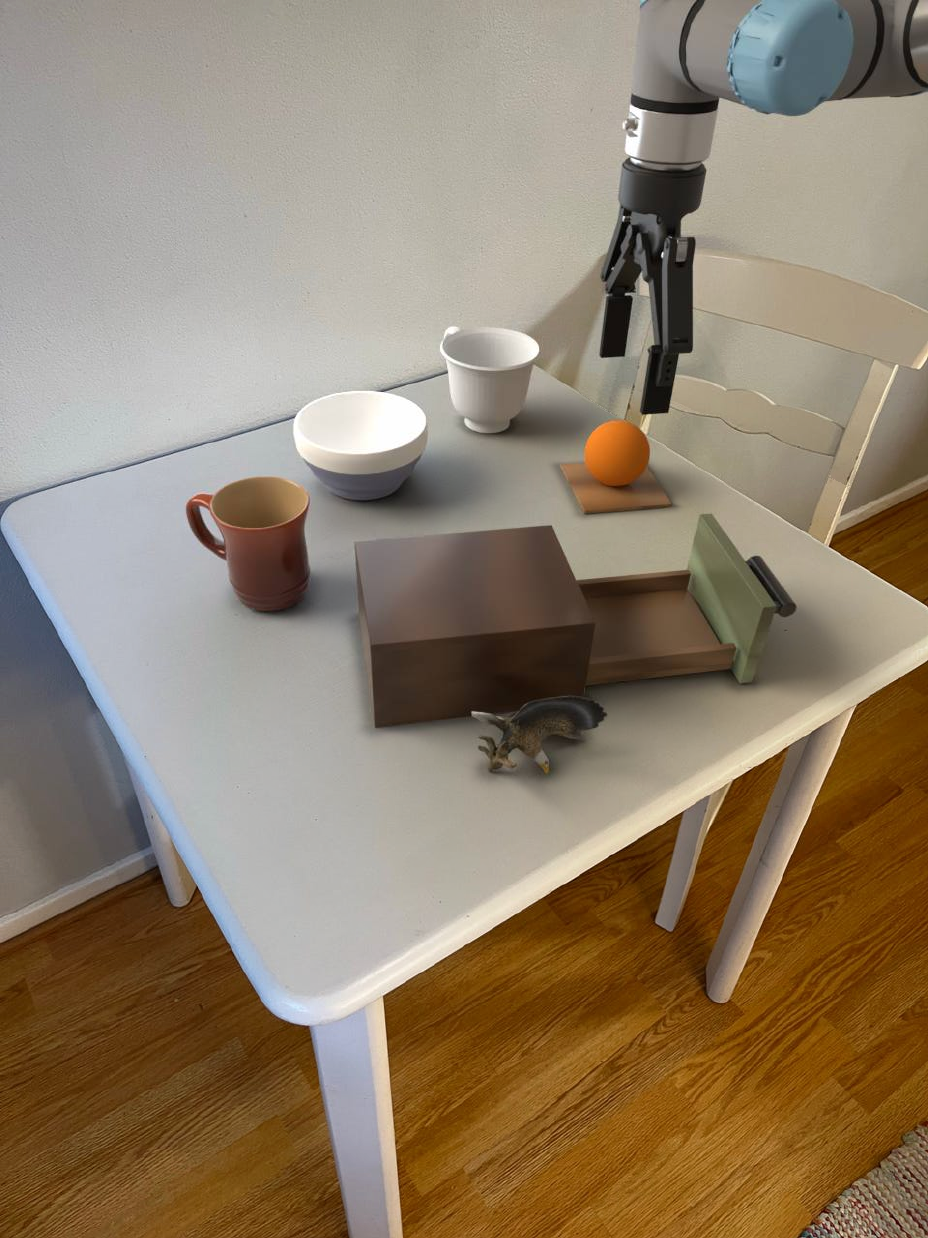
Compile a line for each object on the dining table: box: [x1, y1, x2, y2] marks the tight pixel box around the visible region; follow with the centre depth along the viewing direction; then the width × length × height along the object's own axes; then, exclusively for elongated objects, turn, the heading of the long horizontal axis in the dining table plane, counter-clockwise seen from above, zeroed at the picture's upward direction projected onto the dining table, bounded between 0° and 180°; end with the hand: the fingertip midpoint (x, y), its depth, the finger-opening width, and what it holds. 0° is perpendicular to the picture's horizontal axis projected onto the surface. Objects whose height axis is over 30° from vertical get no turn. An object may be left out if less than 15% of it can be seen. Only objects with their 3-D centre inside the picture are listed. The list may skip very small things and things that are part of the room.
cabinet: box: [353, 524, 595, 728], centre depth 77 cm, size 18×14×9 cm
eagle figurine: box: [471, 695, 608, 774], centre depth 70 cm, size 8×7×9 cm
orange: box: [584, 419, 651, 486], centre depth 100 cm, size 7×7×7 cm
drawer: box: [576, 512, 798, 686], centre depth 79 cm, size 22×14×9 cm, turn 100°
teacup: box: [439, 325, 542, 434], centre depth 111 cm, size 12×15×10 cm
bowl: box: [293, 390, 429, 501], centre depth 99 cm, size 14×14×8 cm
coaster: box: [559, 461, 672, 515], centre depth 102 cm, size 10×10×1 cm
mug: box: [185, 475, 311, 612], centre depth 83 cm, size 12×9×10 cm
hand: (631, 382), depth 94 cm, fingers open, 13 cm apart
